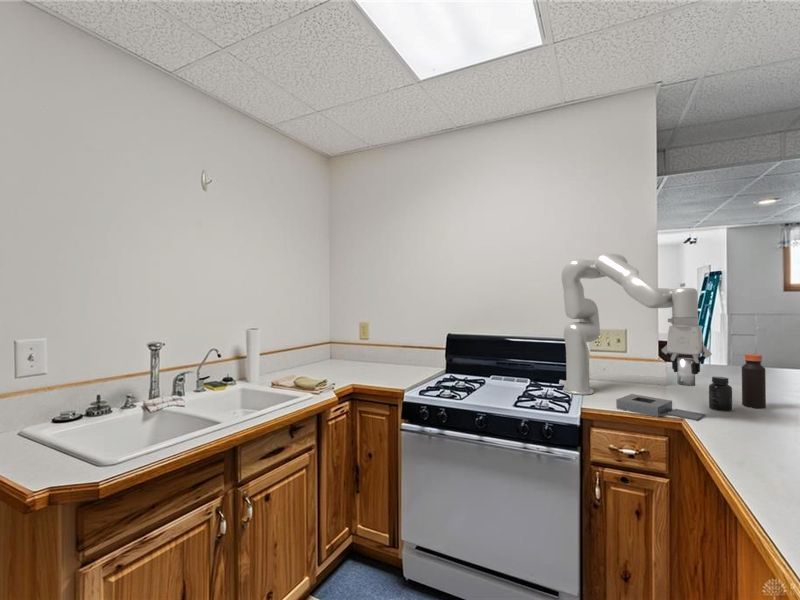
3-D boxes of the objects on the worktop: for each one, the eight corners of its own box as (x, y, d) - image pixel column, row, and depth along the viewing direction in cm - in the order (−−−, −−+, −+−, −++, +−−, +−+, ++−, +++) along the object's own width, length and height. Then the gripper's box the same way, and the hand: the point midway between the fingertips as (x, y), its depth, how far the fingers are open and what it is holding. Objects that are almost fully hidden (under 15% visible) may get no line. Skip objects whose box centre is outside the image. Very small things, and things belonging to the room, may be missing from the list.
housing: (616, 408, 148) (616, 399, 148) (631, 402, 157) (631, 393, 157) (657, 417, 137) (657, 407, 137) (672, 409, 146) (672, 400, 146)
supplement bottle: (736, 412, 142) (736, 379, 142) (715, 411, 144) (715, 379, 144) (725, 407, 149) (724, 376, 149) (705, 406, 150) (704, 375, 150)
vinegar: (770, 409, 145) (769, 356, 145) (749, 408, 147) (749, 355, 147) (757, 404, 152) (757, 353, 152) (737, 403, 153) (737, 353, 153)
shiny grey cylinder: (675, 384, 139) (674, 358, 139) (680, 382, 142) (679, 357, 143) (692, 386, 135) (691, 360, 135) (697, 384, 138) (696, 358, 138)
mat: (666, 414, 140) (666, 413, 140) (675, 410, 145) (675, 408, 145) (697, 420, 133) (697, 419, 133) (705, 415, 138) (705, 414, 138)
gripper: (654, 322, 143) (654, 370, 143) (711, 323, 130) (712, 377, 130) (661, 321, 148) (662, 368, 148) (718, 322, 135) (719, 374, 134)
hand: (685, 372), depth 139 cm, fingers closed on shiny grey cylinder, 5 cm apart
